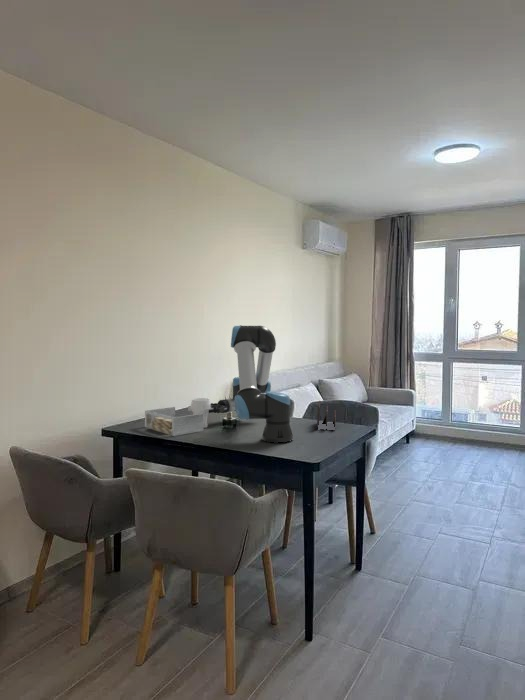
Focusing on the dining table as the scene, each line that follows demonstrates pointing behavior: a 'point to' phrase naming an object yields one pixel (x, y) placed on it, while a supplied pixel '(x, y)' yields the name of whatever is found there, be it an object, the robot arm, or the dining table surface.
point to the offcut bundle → (162, 424)
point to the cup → (201, 408)
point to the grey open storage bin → (175, 421)
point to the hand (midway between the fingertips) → (195, 410)
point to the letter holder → (325, 416)
